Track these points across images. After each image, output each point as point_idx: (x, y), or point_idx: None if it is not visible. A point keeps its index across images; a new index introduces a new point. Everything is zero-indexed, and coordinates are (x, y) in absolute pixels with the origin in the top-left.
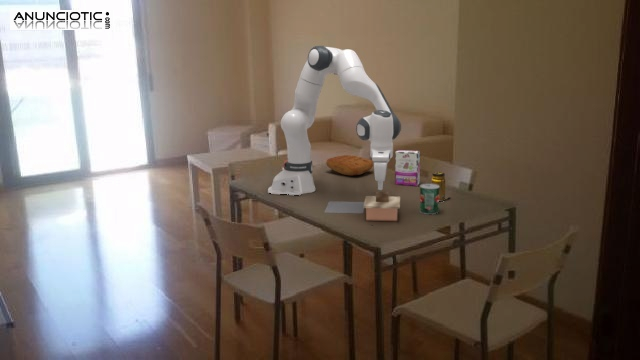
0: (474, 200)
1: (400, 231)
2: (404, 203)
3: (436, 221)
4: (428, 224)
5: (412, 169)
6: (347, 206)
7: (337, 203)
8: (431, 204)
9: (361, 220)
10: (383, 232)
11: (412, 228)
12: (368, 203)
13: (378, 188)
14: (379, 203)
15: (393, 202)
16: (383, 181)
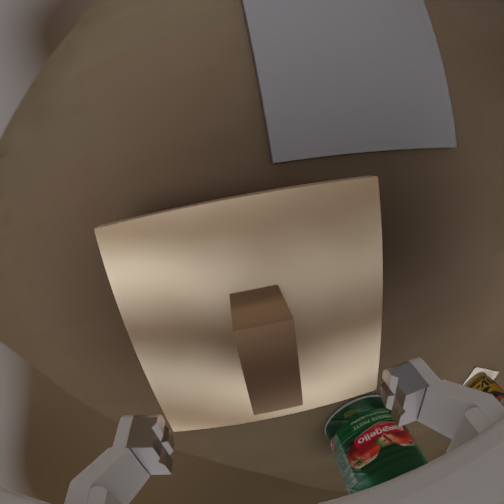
0: (440, 451)
1: (89, 383)
2: (454, 316)
3: (248, 457)
4: (207, 446)
5: None
6: (376, 57)
7: (404, 12)
8: (336, 461)
9: (162, 183)
10: (48, 328)
11: (141, 414)
12: (168, 248)
13: (119, 426)
14: (194, 327)
15: (246, 396)
16: (392, 409)
